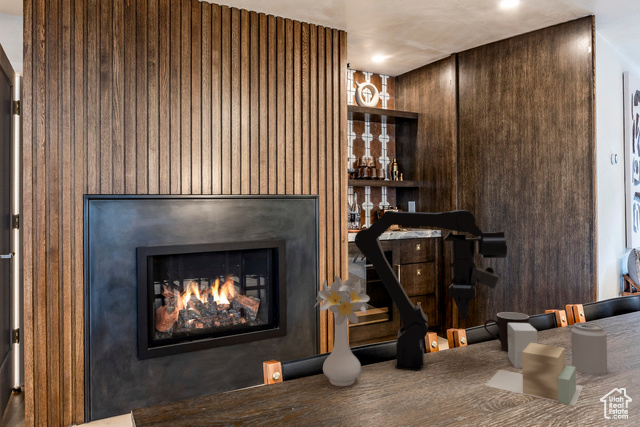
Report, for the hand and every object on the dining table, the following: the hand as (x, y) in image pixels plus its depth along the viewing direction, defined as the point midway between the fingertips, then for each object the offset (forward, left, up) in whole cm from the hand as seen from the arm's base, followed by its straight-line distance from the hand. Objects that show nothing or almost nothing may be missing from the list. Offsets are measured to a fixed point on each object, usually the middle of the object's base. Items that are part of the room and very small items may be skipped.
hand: (464, 318), depth 113 cm
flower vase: (-27, -18, -13) cm, 35 cm away
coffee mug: (+11, +20, -13) cm, 26 cm away
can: (+29, +6, -13) cm, 32 cm away
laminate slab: (+15, -9, -13) cm, 22 cm away
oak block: (+17, -11, -12) cm, 24 cm away
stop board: (+21, -13, -12) cm, 28 cm away
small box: (+14, +6, -13) cm, 20 cm away
